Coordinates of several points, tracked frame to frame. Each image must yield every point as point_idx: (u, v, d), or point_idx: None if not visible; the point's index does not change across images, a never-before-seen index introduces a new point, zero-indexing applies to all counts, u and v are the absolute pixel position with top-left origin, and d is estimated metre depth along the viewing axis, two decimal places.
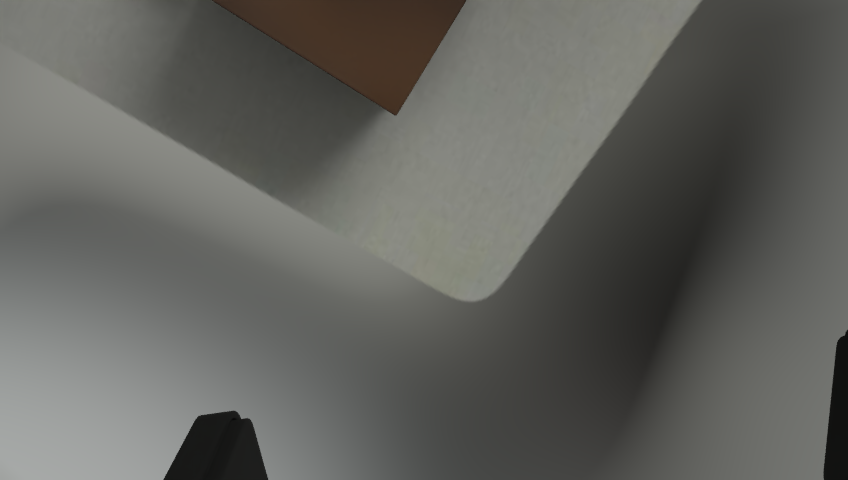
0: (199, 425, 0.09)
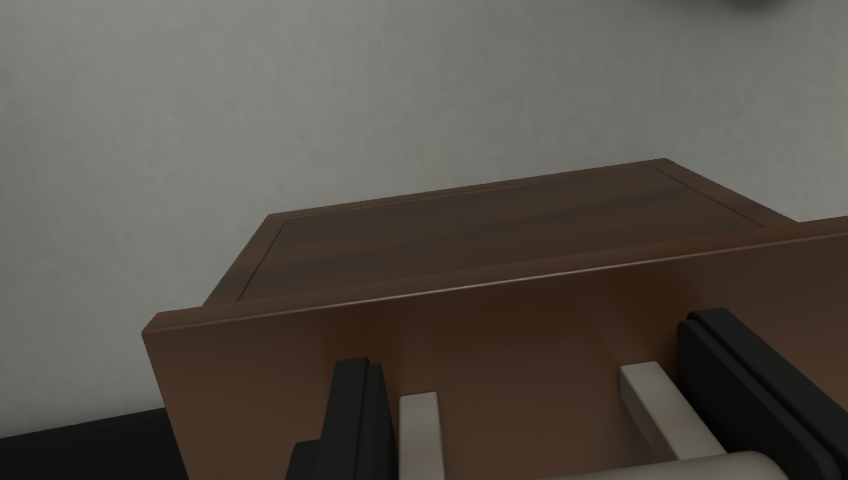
0: (341, 367, 0.10)
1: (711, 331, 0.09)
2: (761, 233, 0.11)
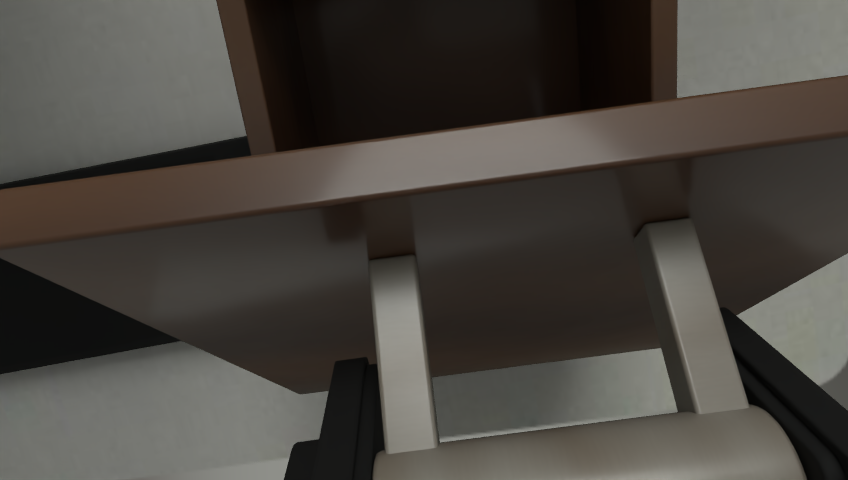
0: (340, 368, 0.10)
1: None
2: None
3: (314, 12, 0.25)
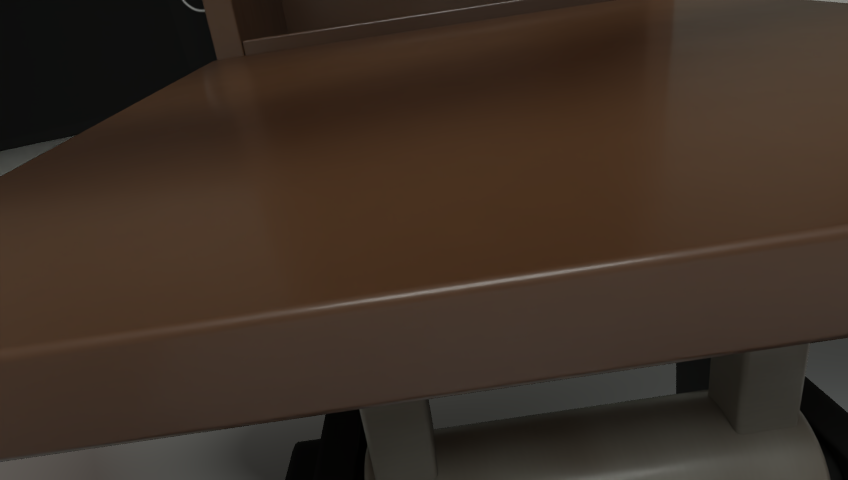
0: None
1: None
2: None
3: None
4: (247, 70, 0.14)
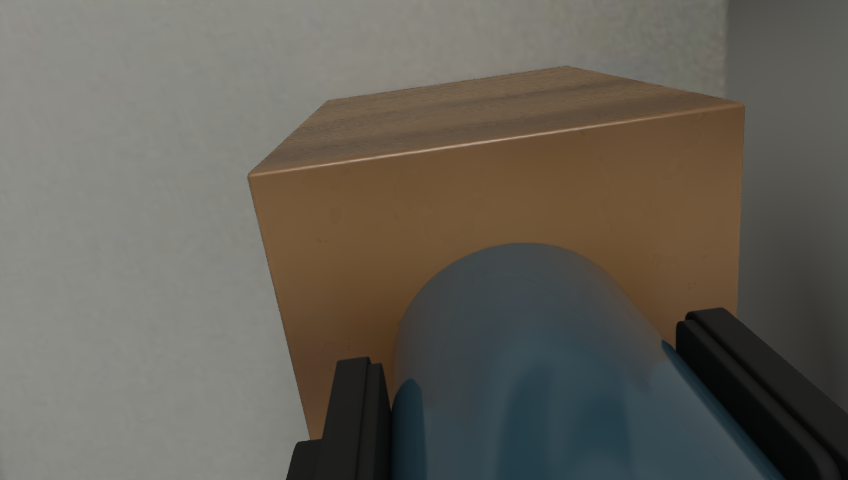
0: (342, 367, 0.10)
1: (710, 331, 0.09)
2: None
3: None
4: None
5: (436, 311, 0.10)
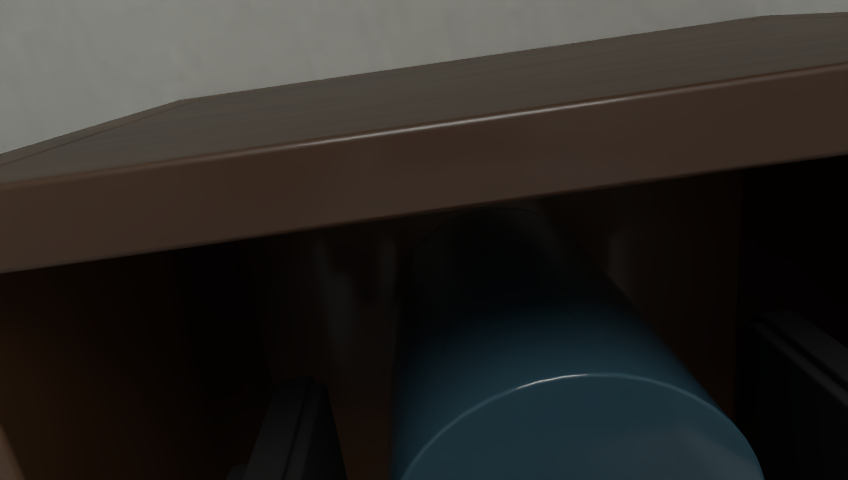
0: (282, 387, 0.09)
1: (782, 335, 0.09)
2: None
3: None
4: None
5: (428, 260, 0.12)
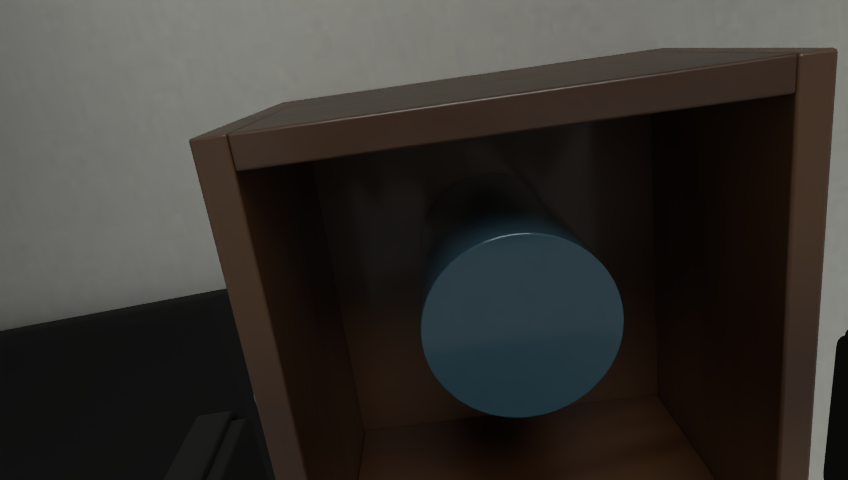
0: (199, 425, 0.09)
1: None
2: None
3: None
4: None
5: (444, 203, 0.19)
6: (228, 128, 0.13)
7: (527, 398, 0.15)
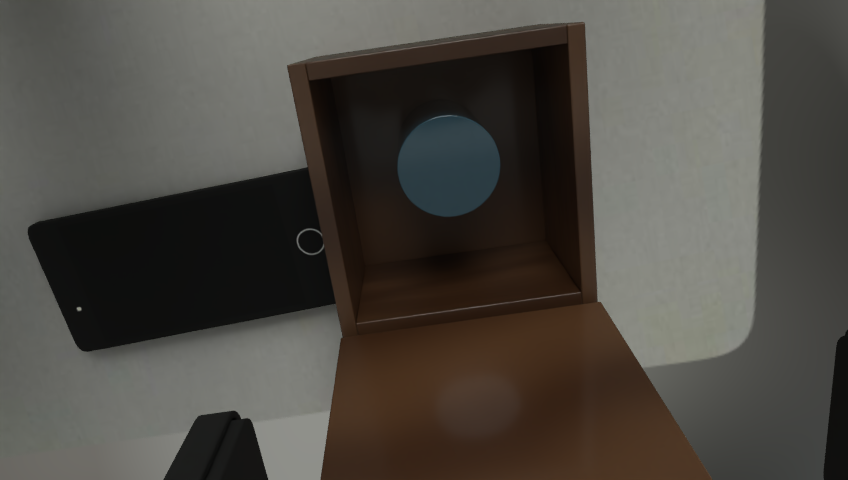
0: (199, 425, 0.09)
1: None
2: None
3: (345, 83, 0.34)
4: (372, 372, 0.27)
5: (411, 114, 0.33)
6: (301, 62, 0.27)
7: (453, 205, 0.30)
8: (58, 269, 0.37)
